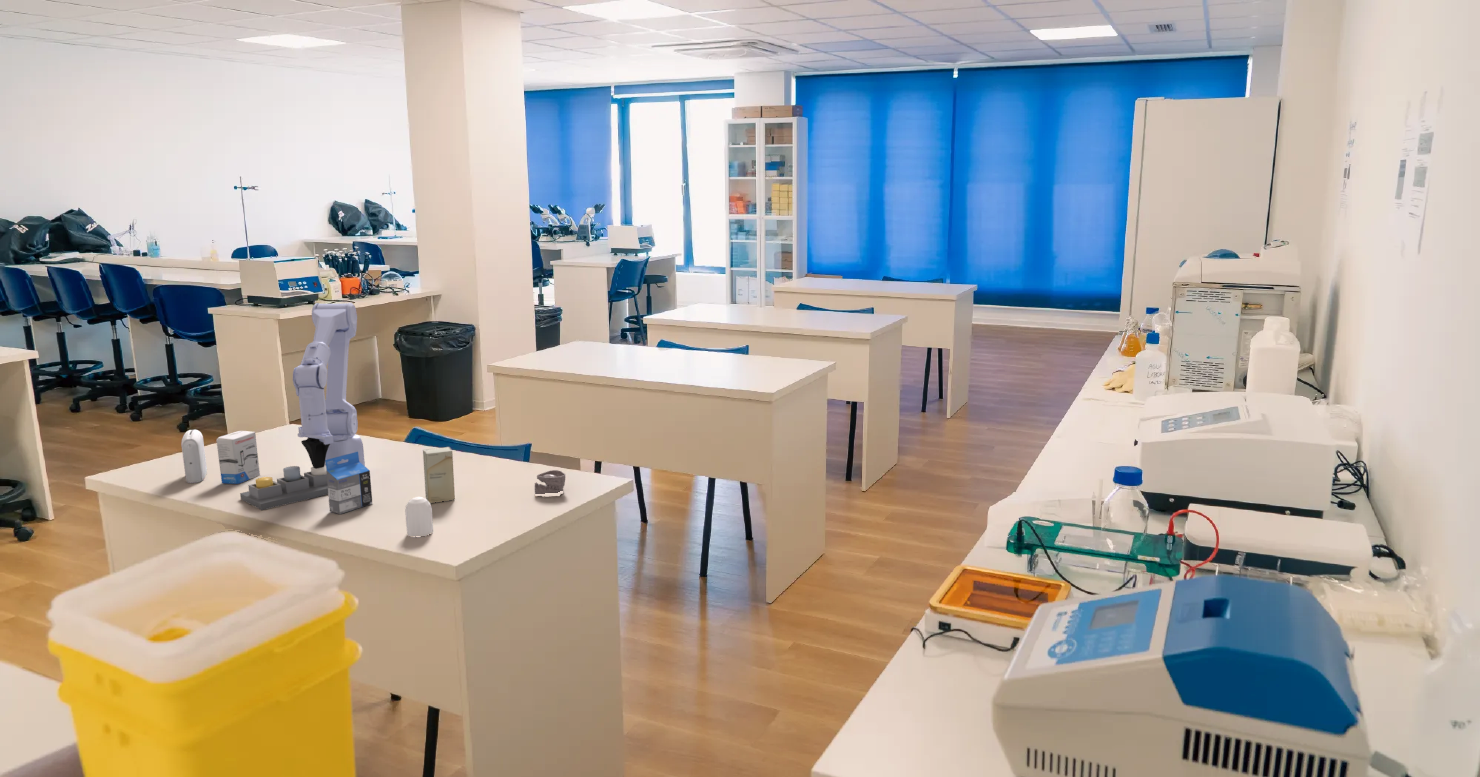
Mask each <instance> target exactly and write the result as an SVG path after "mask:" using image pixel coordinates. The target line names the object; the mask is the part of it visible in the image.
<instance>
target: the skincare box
mask: <svg viewBox="0 0 1480 777" xmlns="http://www.w3.org/2000/svg"><path fill="white" fill-rule="evenodd" d="M453 457H454V456H453V450H452V448H451V447H450V446H446V447H437V448H436V447H435V448H428V449H422V459H423V471H424V472H423V473H424V476H423V477H424V488H425V489H424V491H425V499H427V500H428V501H429V503H430V504H434V503H435V502H436V503H442V501H444V502H450V501H449V500H452V501H454V500H453V499H456V497H455V496H456V495H455V479H454V478H455V477H454V476H455V474H454V458H453Z"/></svg>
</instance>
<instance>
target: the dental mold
mask: <svg viewBox="0 0 1480 777" xmlns="http://www.w3.org/2000/svg"><path fill="white" fill-rule="evenodd" d="M536 479H537V480H539V482H541V483H544V484H541V483H538V481H537V482H534V495H535V494H545V493H558V492H560V491H563V492H564V487H565V484H566V473H564V472H563V471H562V470H559V469H554V470H553V469H551V470H548V471H545V472H542V473H539V474H537V475H536Z"/></svg>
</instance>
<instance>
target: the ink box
mask: <svg viewBox="0 0 1480 777" xmlns="http://www.w3.org/2000/svg"><path fill="white" fill-rule="evenodd" d="M256 435H257V434H256V431H251V430H250V431H247V430H238V431H234V432H231V433H228V434H225V435H221V436H218V437H217V438H216V446H217V448H216V449H217V455H218V456H217V457H218V464H219V471H220V472H219V473H220V480H221V484H228V485H229V484H232V485H239V484H241V483H242V484H243V483H245V482H247V481H249V480H251V479H254V478H256V477H258V476H261V473H260V464H259V454H258V444H257V438H256V437H257V436H256Z"/></svg>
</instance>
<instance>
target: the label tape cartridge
mask: <svg viewBox="0 0 1480 777" xmlns="http://www.w3.org/2000/svg"><path fill="white" fill-rule="evenodd" d="M342 459H344V460H347V459H348V462H345V463H341V464H337V462H339V461H341V460H342ZM325 463H326V470H327V471H326V472H327V485H328V494H327V495H328V506H329V512H330V513H334V514H338V515H342V514H345V513H347V512H352V511H355V510H357V509H358V510H359V509H360V508H363V507H367V506H371V505H373V494H372V481H371V471H370V469H369V468H368V467H367V466H364V465H363V464H362V463H360V462H359V455H358V451H357V452H354V453H350V454H346V455H342V456H338V457H335V458H331V459H327V460H325Z"/></svg>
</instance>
